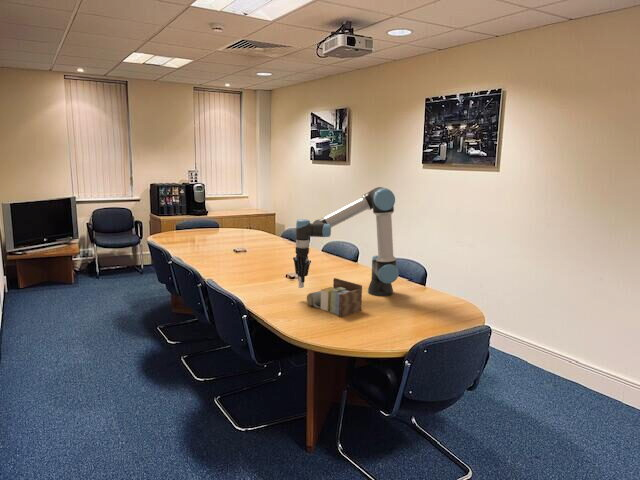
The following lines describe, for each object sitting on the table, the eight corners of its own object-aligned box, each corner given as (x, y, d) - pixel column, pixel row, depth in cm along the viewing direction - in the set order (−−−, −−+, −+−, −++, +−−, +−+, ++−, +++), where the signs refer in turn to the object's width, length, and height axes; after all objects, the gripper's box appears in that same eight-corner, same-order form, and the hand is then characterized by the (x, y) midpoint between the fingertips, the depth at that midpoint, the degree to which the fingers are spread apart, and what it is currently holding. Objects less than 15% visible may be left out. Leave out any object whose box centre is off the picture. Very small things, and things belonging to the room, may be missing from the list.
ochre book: (330, 306, 261) (331, 286, 259) (338, 308, 258) (338, 288, 256) (320, 309, 256) (320, 289, 254) (327, 311, 252) (328, 291, 250)
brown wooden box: (334, 302, 269) (335, 278, 266) (361, 310, 255) (362, 285, 252) (313, 308, 257) (313, 283, 255) (340, 317, 243) (341, 291, 241)
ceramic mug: (305, 304, 264) (306, 291, 262) (318, 302, 268) (318, 289, 266) (315, 310, 255) (315, 296, 253) (328, 308, 259) (328, 294, 257)
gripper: (289, 245, 268) (288, 286, 273) (305, 249, 259) (304, 291, 263) (299, 244, 274) (298, 283, 278) (315, 248, 265) (313, 288, 269)
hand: (301, 287), depth 271 cm, fingers closed
